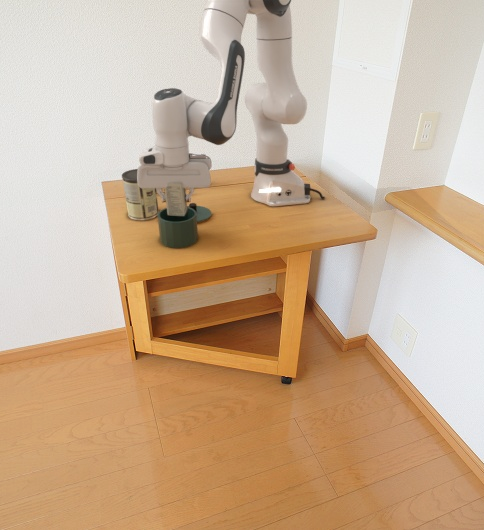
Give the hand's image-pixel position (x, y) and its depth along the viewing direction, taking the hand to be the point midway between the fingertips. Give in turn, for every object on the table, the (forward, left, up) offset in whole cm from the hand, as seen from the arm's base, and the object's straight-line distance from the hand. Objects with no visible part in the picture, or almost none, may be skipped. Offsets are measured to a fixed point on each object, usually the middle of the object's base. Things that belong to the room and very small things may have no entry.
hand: (176, 201), depth 118 cm
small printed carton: (0, 0, -4) cm, 4 cm away
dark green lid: (-4, -16, -12) cm, 20 cm away
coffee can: (+13, -18, -13) cm, 26 cm away
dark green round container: (0, 0, -12) cm, 12 cm away
